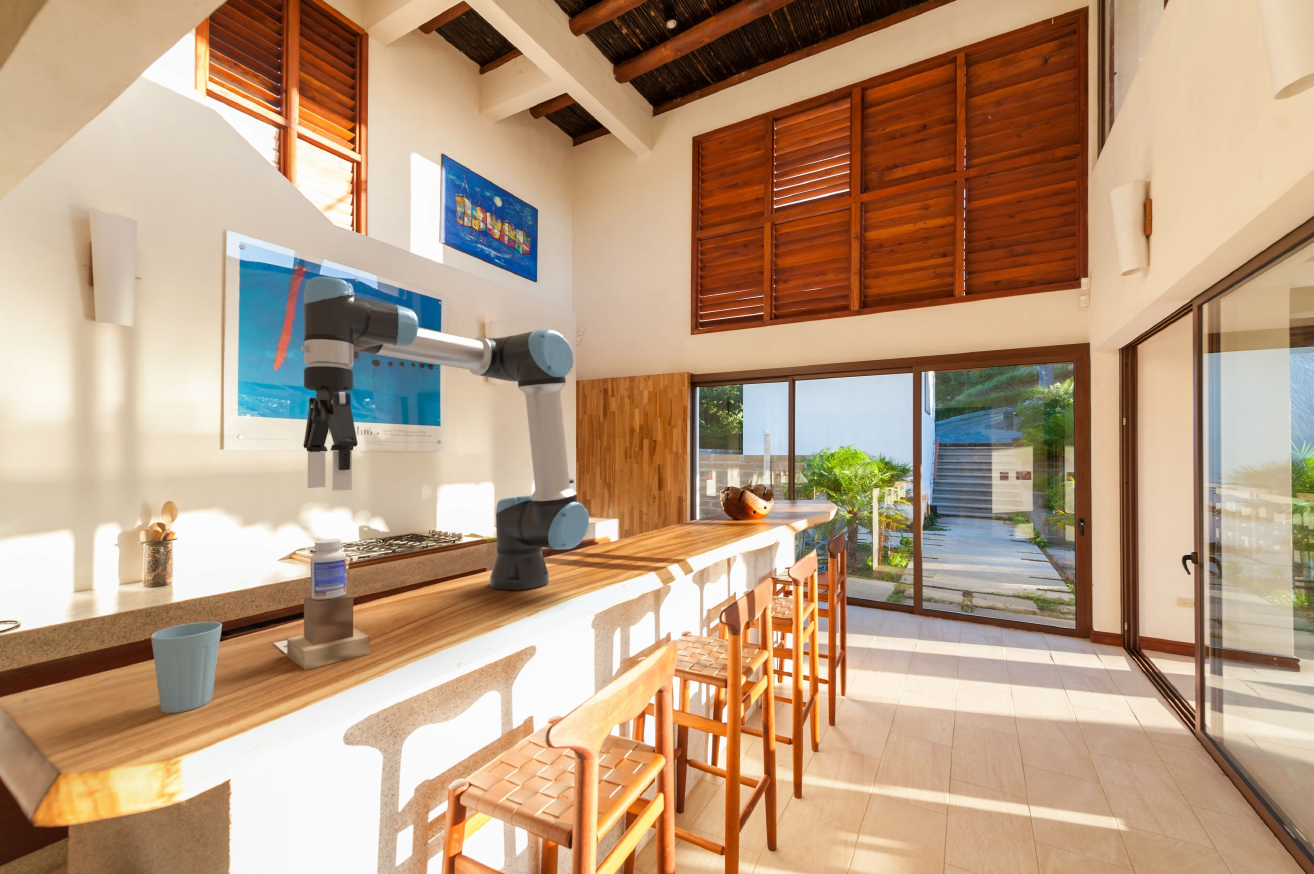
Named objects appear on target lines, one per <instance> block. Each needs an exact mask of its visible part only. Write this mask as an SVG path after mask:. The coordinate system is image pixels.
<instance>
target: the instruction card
mask: <svg viewBox="0 0 1314 874" xmlns="http://www.w3.org/2000/svg"><path fill="white" fill-rule="evenodd" d="M273 645H274V646H275V647H277V649H278V650H279V651H281V652H282V653H284V655H287V640H282V641H276V642H273Z"/></svg>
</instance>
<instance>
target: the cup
mask: <svg viewBox="0 0 1314 874" xmlns="http://www.w3.org/2000/svg"><path fill="white" fill-rule="evenodd" d="M222 627H223V623H221V622H219V621H218V622H217V621H200V622H199V621H198V622H190V623H184V624H179V625H175V626H174V625H173V626H169V627H166V628H164V629H161V630H160V629H159V630H158V631H156V632H154V633H152V634H151V635H150V638H151V639H150V640H151V645H152V652H153V659H154V661H153V662H154V668H155V674H156V682H157V684H156V685H157V689H158V696H159V697H158V698H159V705H160V710H161V712H163V713H164V714H165V713H166V714H176V713H183V712H189V711H192V710H194V709H198V708H201V707H203V706H205V705H207V704H208V703H210V702H211V701H212V698H213V694H214V693H213V692H214V688H215V687H214V685H215V679H216V670H217V662H218V657H219V656H218V655H219V648H220V640H221V635H222Z"/></svg>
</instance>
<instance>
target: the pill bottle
mask: <svg viewBox="0 0 1314 874" xmlns="http://www.w3.org/2000/svg"><path fill="white" fill-rule="evenodd" d="M341 548H342V539H340V538H329V539H321V540H316V541H315V542H314V550H315V551H316V553H314V554H312V555H311V557H310V596H311V598H312V599H314V600H327V599H334V598H339V597H342V596H344V595H345V594H346V593H347V555H346V552H345V551H341Z"/></svg>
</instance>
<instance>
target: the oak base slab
mask: <svg viewBox="0 0 1314 874" xmlns="http://www.w3.org/2000/svg"><path fill="white" fill-rule="evenodd" d="M286 639H287V654H286V655H287V657H289V658H290V659H291V660H292V662H294V663H295V664H297V665H298V666H299V667H300V668H301V669H303V670H304V671H307V670H310V669H314V668H319V667H323V666H327V665H330V664H335V663H338V662H339V663H340V662H343V661H347V660H350V659H355V658H359V657H363V656H366V655H370V653H371V636H370V635H368V634H367V633H365V632H363V631H362V630H359V629H358V628H357V627H354V626H353V637H350V638H345V639H341V640H336V641H332V642H327V643H323V644H319V645H313V644H312V643H311V642H309V641H308V640H307V639H305V638H304V634H300V635H297V636H291V637H287V638H286Z"/></svg>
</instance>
